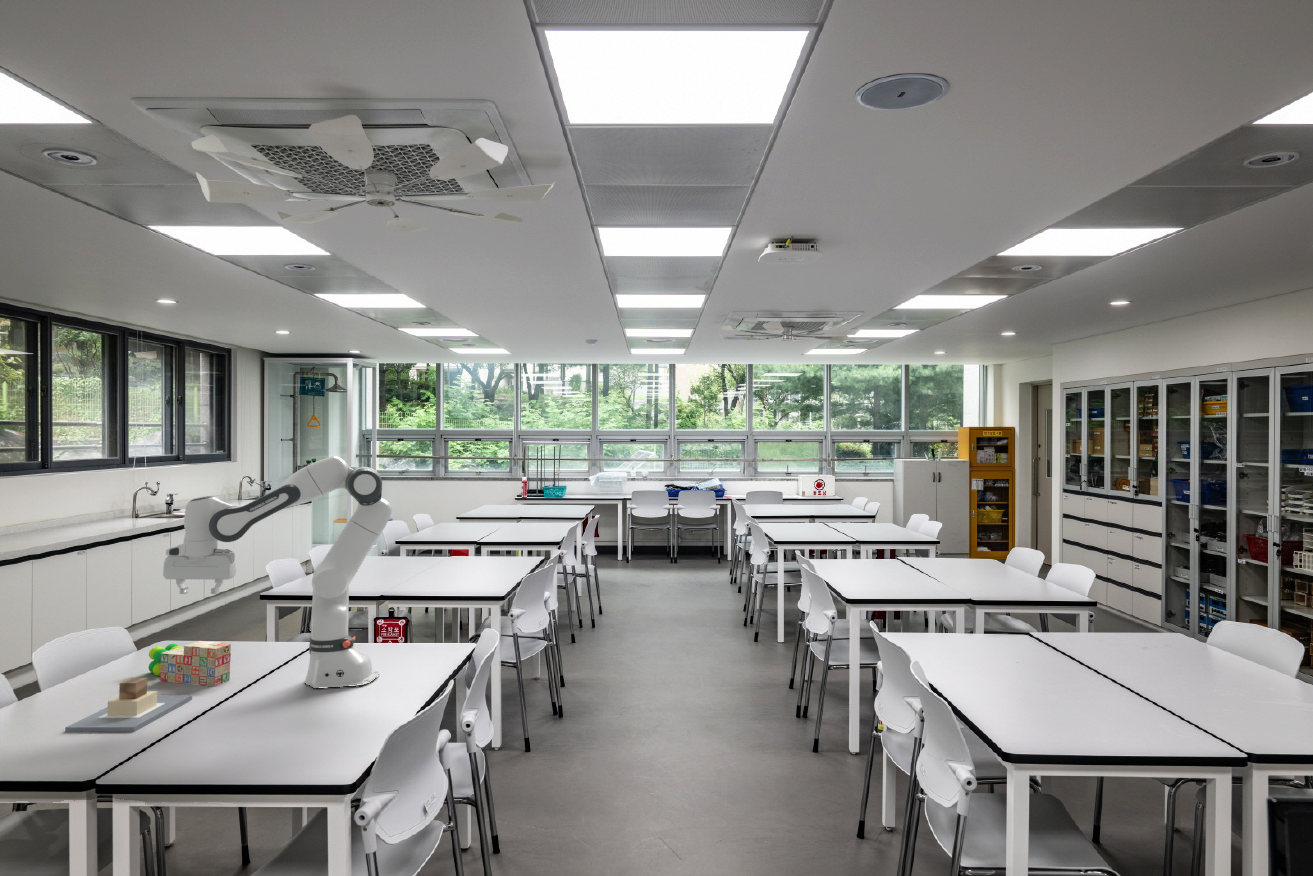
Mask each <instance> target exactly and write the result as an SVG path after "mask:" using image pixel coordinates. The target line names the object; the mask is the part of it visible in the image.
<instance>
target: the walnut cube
mask: <svg viewBox="0 0 1313 876" xmlns="http://www.w3.org/2000/svg"><path fill="white" fill-rule="evenodd" d="M118 688H119V691H118V695H119V699H137V698H139V697H141V696H143V695H145V694H147V691H148V677H130V678H128V679H126V680H123V681H121V682H119V687H118Z"/></svg>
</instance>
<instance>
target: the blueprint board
mask: <svg viewBox="0 0 1313 876" xmlns="http://www.w3.org/2000/svg"><path fill="white" fill-rule="evenodd" d="M189 700H190V701H192V700H193V695H158V691H156V690H155V691H150V690H149V691H148V690H147V694H145V695H143V696H141V697H139V698H137V699H119V696H117V697H114V698H112V699H110V700H108V701H107V707H105V708H103V709H100V710H98V711H97V712H94V713H92V714H90V715H89V716H86V717H84V718H82V719H80V720H78V721H76V722H73V723H71V724H70V725H67V726H65V728H64V729H65V730H64V732H65V733H84V732H83V731H86V732H85V733H99V732H100V733H109V732H111V733H114V732H117V733H119V732H120V733H123V732H124V733H126V732H128V733H131V732H136V731H138V730H140V729H142V728H143V727H145V726H147V725H149V724H150V723H152V722H154V721H156V720H158V719H159V718H161V717H163V716H165V715H167V714H168V713H171V712H172V711H174V710H176V709H178V708H179V707H181V706H183V705H185V704H187V703H189V702H190V701H189ZM74 731H75V732H74ZM79 731H80V732H79ZM87 731H88V732H87Z"/></svg>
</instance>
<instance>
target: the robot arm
mask: <svg viewBox="0 0 1313 876" xmlns="http://www.w3.org/2000/svg"><path fill="white" fill-rule="evenodd" d="M338 489H344V490H346V491H347V492H348V494H349V495H350V496H351V497H353V499H355V501H356V502H357V504H358V505H357V508H356V510H355V512H354V513H353V514H352V516H351V517H350V519H349V520H348V522H346V525H345V526H344V528H343V529H342V530H341V532H340V533H339V535H338V536H337V537H336V539H335V541H334V543H333V544H332V546H331V547H330V549H329V551H328V552H327V554H326V555H325V557H324V558H323V560H322V561H321V562H320V563H319V564H318V565H317V566H316V567H315V569H314V571H313V575H312V579H311V586H312V601H311V602H312V603H311V627H310V628H311V634H310V635H311V637H310V638H309V646H308V647H309V655H310V656H309V662H308V670H307V672H306V677H305V679H304V684H305V683H306V685H307V686H309V685H310V686H309V687H311V688H312V687H313V688H319V687H340V688H344V687H343V686H349V685H357V684H363V683H366V682H370V681H371V680H373V679H374V678H376V677H377V675H378V673H379V674H380V672H379V670H377V669H373V667H372V666H373V663H372V660H371V658H370V656H369V655H368V654H366V653H364V652H363V651H361V650H360V649H358V648H357V647H356V646H355V645H354V642H355V640H356V636H353V637H352V636H351V635H350V634H349V609H350V608H349V603H350V602H349V600H350V599H349V598H350V597H349V595H350V589H349V588H350V585H351V582H352V581H353V579H354V577H355V576H356V575H357V573H358V572H359V571H358V570H359V569H360V567H361V565H362V564H363V563H364V561H365V559H366V557H367V556H368V555H369V552H370V551H371V549H372V548H373V547H374V545H375V544H376V542H377V540H378V539H379V538H380V536H381V534H382V533H383V531H384V530H385V528H386V526H387V524H388V522H389V520H390V517H391V515H392V512H393V507H392V505H391V504H390V502H389V501H388V500H387V499H385V498H384V497H382V496H383V494H382V492H383V481H382V477H381V475H380V473H379V472H378V471H377V470H375V469H374V468H372V467H367V466H361V467H356V466H355V467H351V466H349V464H348V462H347V461H346V460H345V459H343V458H342V457H340V456H336V455H333V456H330V457H326V458H323V459H319V460H317V461H315V462H313V463H311V464H308V465H306V466H304V467H302V468H300V469H299V470H297V471H296V472H294V473H292V474H290V476H288V477H287V478H285V480H283V481H282V482H281V483H280V484H279V485H278V486H277V487H276V488H274V489H273V490H272V491H270V492H269V493H267V494H264V495H263V496H261V497H259V498H257V499H255V500H253V501H251V502H249V503H247V504H244V505H242V506H238V505H235V504H230V503H227V502H225V501H223V500H222V499H221V500H220V499H219V498H218V497H217V496H214V495H210V496H209V495H208V496H207V495H206V496H201V497H198V498H193V499H191V500H190V501H188V502H187V504H186V506H185V510H184V518H183V519H184V520H183V527H184V530H185V534H184V537H183V543H182V544H178V545H177V546H176V545H175V546H174V547H170V548H167V549H166V550H165V555H166V556H167V557H166V558H165V559H164V562H163V572H162V576H163V577H164V578H165V580H175V584H176V585H177V587H178V589H179V594H180V595H186V594H188V593H189V587H188V586H186V585H185V583H184V582H186V580H214V584H215V585H214V586H213V587H211V588H210V591H211V592H210V594H211V595H218V594H219V593H220V587H221V586H222V585H223V583H224V581H225V580H231V579H233V578H234V577H235V576H236V570H237V569H236V562H235V561H236V560H235V559H236V555H235V552H234V551H233V550H231V549H229V548H225V549H224V548H223V549H222V548H218V546H219V545H218V542H224V543H232V542H236V541H238V540H240V539H241V538H242V537H243V536H244V535H245V534H246V533H247V532H248V531H249V530H250V529H251V528H252V526H253V525H255V524H257V523H258V522H261V521H262V520H264V519H267V518H268V517H270V516H272V515H274V514H275V513H278V512H279V511H283V510H284V509H288V508H291V507H295V506H299V505H303V504H307V503H310V502H313V501H315V500H317V499H319V498H321V497H323V496H326V495H327V494H329V493H331V492H333V491H336V490H338ZM313 688H312V689H313Z"/></svg>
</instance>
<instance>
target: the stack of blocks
mask: <svg viewBox="0 0 1313 876" xmlns="http://www.w3.org/2000/svg"><path fill="white" fill-rule="evenodd" d="M231 646H232V644H231V643H225V642H224V643H223V642H219V641H206V640H205V641H203V640H198V641H196V642H191V643H189V644H186V645H183V649H181V648H176V649H172V650H169V651H166V652H163V653H161V654H160V662H161V664H160V676H159V681H160V682H167V683H176V682H178V683H177V684H185V683H187V685H196V684H198V685H197V686H206V687H216V686H219V685H221V684H224V683H227V682H228V681H230V680H231V679H230V677H231V675H230V674H231V655H232V654H231V651H232V650H231V649H232V647H231ZM223 682H224V683H223ZM188 683H190V684H188Z"/></svg>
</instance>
